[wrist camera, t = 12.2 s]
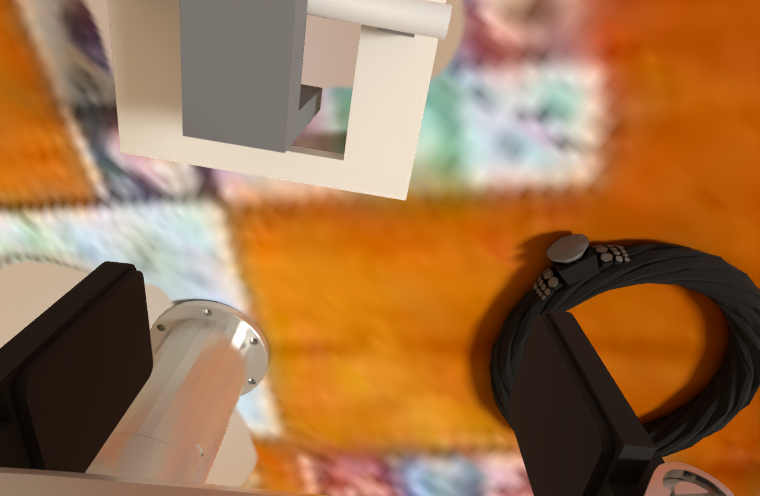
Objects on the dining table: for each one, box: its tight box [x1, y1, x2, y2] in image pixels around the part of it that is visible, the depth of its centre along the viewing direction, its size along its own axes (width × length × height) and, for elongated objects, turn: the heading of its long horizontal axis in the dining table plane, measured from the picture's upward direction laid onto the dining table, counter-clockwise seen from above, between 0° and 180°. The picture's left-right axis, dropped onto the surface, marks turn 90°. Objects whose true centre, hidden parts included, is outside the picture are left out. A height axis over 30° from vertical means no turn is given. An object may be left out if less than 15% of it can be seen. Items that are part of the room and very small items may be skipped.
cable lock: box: [490, 234, 760, 457], centre depth 47 cm, size 28×4×30 cm
